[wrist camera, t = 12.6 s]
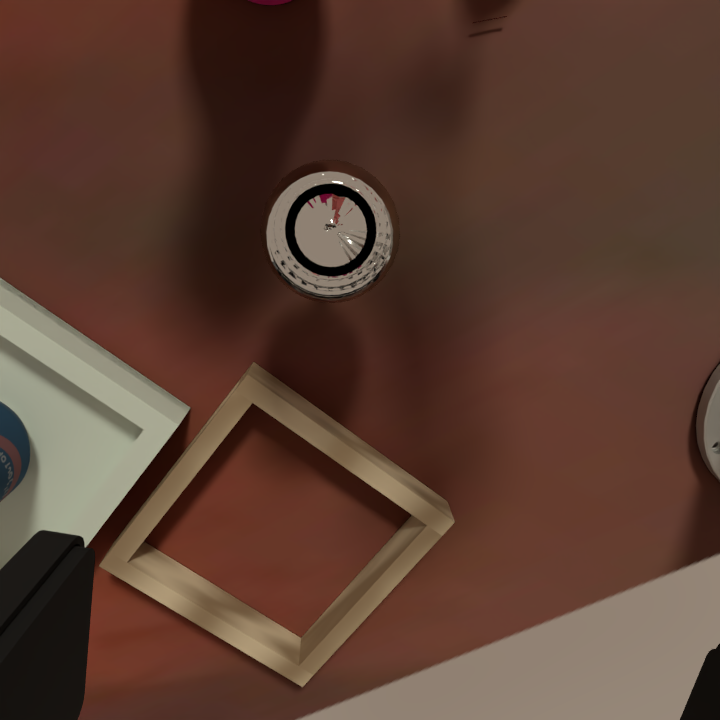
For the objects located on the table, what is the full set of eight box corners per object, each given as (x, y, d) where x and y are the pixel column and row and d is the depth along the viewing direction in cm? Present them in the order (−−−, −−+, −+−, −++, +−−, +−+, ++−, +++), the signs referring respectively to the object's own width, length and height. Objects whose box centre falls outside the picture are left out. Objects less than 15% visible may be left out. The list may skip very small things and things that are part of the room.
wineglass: (270, 260, 33) (236, 295, 22) (292, 157, 32) (268, 135, 20) (368, 284, 34) (385, 330, 22) (394, 184, 32) (427, 178, 21)
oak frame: (447, 501, 38) (454, 522, 35) (304, 657, 41) (302, 687, 38) (253, 361, 35) (247, 374, 32) (113, 542, 38) (98, 565, 35)
